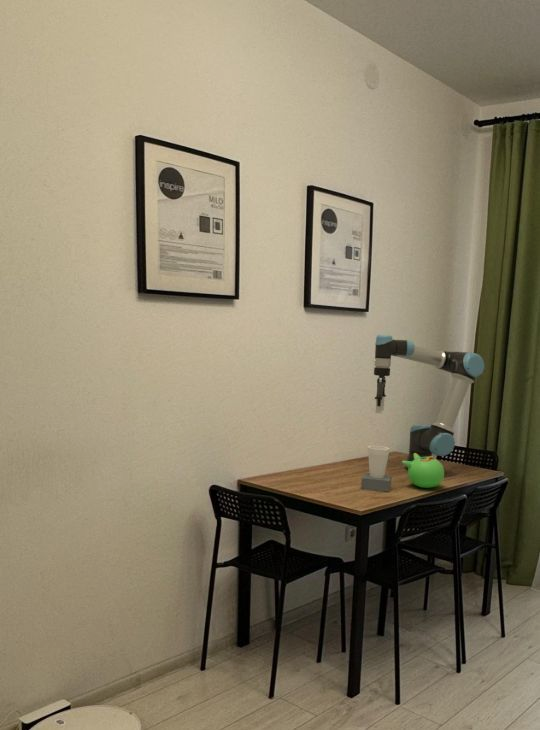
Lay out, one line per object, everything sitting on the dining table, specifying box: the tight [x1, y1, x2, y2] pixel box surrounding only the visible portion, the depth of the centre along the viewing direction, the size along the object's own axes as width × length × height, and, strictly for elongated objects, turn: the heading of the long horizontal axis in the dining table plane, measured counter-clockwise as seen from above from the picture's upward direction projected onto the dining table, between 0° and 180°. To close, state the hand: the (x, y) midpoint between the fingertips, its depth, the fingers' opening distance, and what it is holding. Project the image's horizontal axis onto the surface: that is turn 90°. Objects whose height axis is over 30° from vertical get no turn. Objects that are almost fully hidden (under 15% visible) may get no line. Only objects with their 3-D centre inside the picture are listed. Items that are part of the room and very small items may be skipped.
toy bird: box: [401, 453, 445, 489], centre depth 284 cm, size 18×17×15 cm
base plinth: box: [360, 472, 392, 493], centre depth 279 cm, size 12×12×5 cm
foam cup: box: [367, 445, 390, 478], centre depth 278 cm, size 10×9×13 cm
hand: (379, 411), depth 298 cm, fingers open, 13 cm apart
